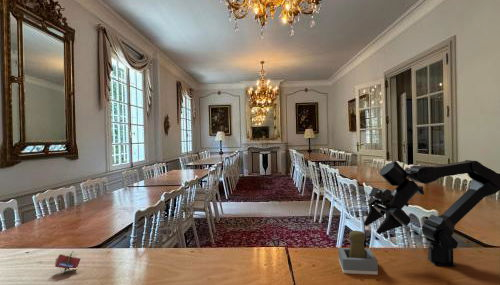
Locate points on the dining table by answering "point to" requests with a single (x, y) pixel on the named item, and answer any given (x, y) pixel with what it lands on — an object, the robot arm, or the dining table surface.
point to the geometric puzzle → (67, 261)
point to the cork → (357, 244)
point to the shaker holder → (358, 262)
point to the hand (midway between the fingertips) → (370, 228)
